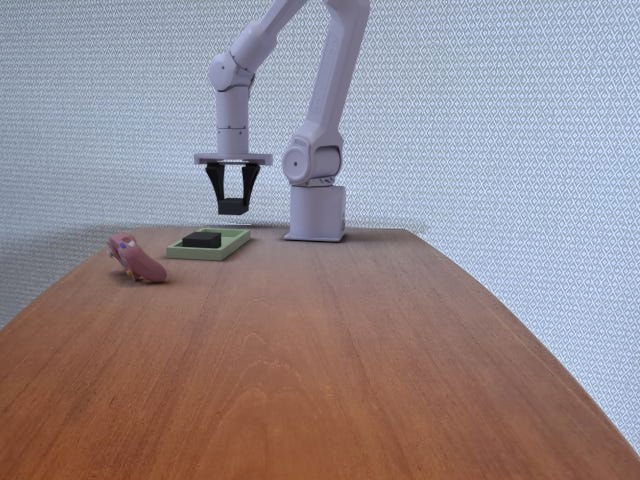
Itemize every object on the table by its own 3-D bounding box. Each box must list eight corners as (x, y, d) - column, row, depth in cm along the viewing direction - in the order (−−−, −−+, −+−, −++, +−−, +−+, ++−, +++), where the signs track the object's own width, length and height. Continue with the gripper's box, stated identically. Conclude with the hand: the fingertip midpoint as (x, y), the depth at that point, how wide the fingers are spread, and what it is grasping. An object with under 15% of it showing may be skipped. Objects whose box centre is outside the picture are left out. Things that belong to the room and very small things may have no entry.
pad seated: (195, 246, 108) (194, 231, 107) (221, 247, 107) (221, 232, 106) (182, 254, 102) (181, 238, 101) (210, 255, 101) (210, 239, 100)
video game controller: (122, 280, 95) (95, 237, 91) (149, 263, 96) (124, 220, 92) (141, 297, 87) (113, 251, 83) (171, 278, 87) (144, 231, 84)
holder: (202, 236, 118) (202, 227, 117) (250, 239, 116) (250, 229, 115) (166, 257, 102) (166, 247, 101) (221, 260, 100) (221, 249, 99)
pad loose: (226, 210, 131) (226, 197, 130) (249, 210, 130) (248, 198, 129) (217, 214, 125) (217, 201, 124) (241, 215, 124) (240, 202, 123)
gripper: (276, 127, 124) (276, 203, 129) (201, 127, 127) (203, 201, 132) (268, 129, 118) (268, 208, 122) (189, 128, 121) (191, 206, 126)
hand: (233, 205), depth 127 cm, fingers closed on pad loose, 4 cm apart
